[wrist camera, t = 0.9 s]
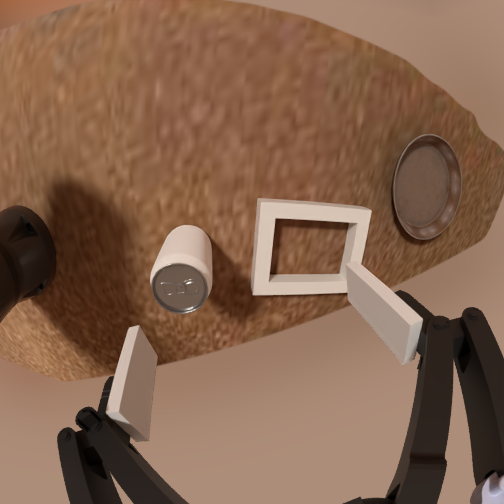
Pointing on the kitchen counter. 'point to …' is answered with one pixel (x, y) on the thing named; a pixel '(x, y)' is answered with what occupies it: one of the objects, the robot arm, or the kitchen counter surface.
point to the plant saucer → (426, 186)
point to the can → (183, 270)
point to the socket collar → (305, 211)
